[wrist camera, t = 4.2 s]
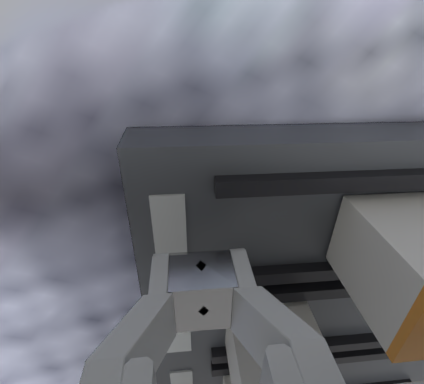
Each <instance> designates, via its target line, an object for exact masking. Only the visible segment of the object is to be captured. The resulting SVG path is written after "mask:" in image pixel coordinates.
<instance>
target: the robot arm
mask: <svg viewBox="0 0 424 384" xmlns="http://www.w3.org/2000/svg"><path fill="white" fill-rule="evenodd" d="M230 328H231V331H232V332H233V333H234V334H235V336H236V337H237V338H238V340H239V341H240V342H241V343H242V345H243V346H244V347H245V348H246V350H247V351H248V352H249V354H250V355H251V356H252V357H253V359H254V360H255V361H256V362H257V364H258V365H259V366H260V368H261V369H262V371H261V376H260V382H259V384H346V383H345V381H344V379H343V377H342V375H341V372H340V370H339V368H338V366H337V364H336V362H335V359H334V357H333V355H332V353H331V351H330V349H329V347H328V344H327V342H326V340H325V338H323V337H322V336H321V335H320V334H319V333H317V332H316V331H315V330H314V329H313V328H311V327H310V326H309V325H308V324H307V323H305V322H304V321H303V320H302V319H301V318H299V317H298V316H297V315H296V314H295V313H293V312H292V311H291V310H290V309H289V308H287V307H286V306H285V305H284V304H283V303H281V302H280V301H279V300H278V299H277V298H275V297H274V296H273V295H272V294H271V293H269V292H268V291H267V290H266V289H265V288H263V287H262V286H257V285H256V282H255V278H254V275H253V272H252V268H251V265H250V262H249V259H248V255H247V252H246V250H245V249H244V248H238V249H229V250H214V251H200V252H178V253H162V254H153V257H152V263H151V272H150V281H149V290H148V295H143V296H142V297H141V298H140V299H139V300H138V301H137V303H136V304H135V305H134V306H133V307H132V308H131V309H130V311H129V312H128V313H127V314H126V315H125V316H124V318H123V319H122V320H121V321H120V322H119V323H118V324H117V326H116V327H115V328H114V329H113V330H112V331H111V332H110V334H109V335H108V336H107V337H106V338H105V339H104V340H103V342H102V343H101V344H100V345H99V346H98V347H97V348H96V350H95V351H94V352H93V353H92V354H91V355H90V356H89V358H88V359H87V360H86V361H85V365H84V368H83V372H82V375H81V379H80V383H79V384H157V380H156V374H155V373H156V371H157V369H158V368H159V366H160V364H161V362H162V360H163V359H164V357H165V355H166V353H167V351H168V350H169V348H170V346H171V344H172V342H173V341H174V339H175V337H176V333H184V332H192V331H201V330H214V329H230ZM398 384H424V381H415V382H407V383H398Z"/></svg>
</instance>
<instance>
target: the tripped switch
mask: <svg viewBox="0 0 424 384" xmlns="http://www.w3.org/2000/svg"><path fill="white" fill-rule="evenodd" d="M326 259H327V260H328V262H329V264H330V265H331V267H332V268H333V270H334V272H335V273H336V275H337V276H338V278H339V280H340V281H341V283H342V284H343V286H344V287H345V289H346V291H347V292H348V294H349V295H350V297H351V299H352V300H353V302H354V303H355V305H356V307H357V308H358V310H359V311H360V313H361V315H362V316H363V318H364V319H365V321H366V323H367V324H368V326H369V327H370V329H371V330H372V332H373V334H374V335H375V337H376V338H377V340H378V342H379V343H380V345H381V346H382V348H383V350H384V351H385V353H386V354H387V356H388V358H389V359H390V361H391V362H392V363H401V362H410V361H420V360H424V192H415V193H393V194H370V195H347V196H343V199H342V203H341V206H340V210H339V213H338V216H337V220H336V223H335V227H334V230H333V234H332V237H331V241H330V244H329V247H328V251H327V254H326Z"/></svg>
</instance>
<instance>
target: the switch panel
mask: <svg viewBox="0 0 424 384" xmlns="http://www.w3.org/2000/svg"><path fill="white" fill-rule="evenodd" d="M117 154H118V160H119V166H120V172H121V178H122V183H123V189H124V195H125V201H126V207H127V213H128V219H129V225H130V231H131V237H132V243H133V249H134V255H135V261H136V267H137V273H138V278H139V284H140V290H141V296H143V295H148V290H149V281H150V272H151V263H152V257H153V254H162V253H178V252H200V251H214V250H229V249H238V248H244V249H245V250H246V252H247V255H248V259H249V262H250V265H251V268H252V272H253V275H254V278H255V282H256V285H257V286H262V287H263V288H265V289H266V290H267V291H268V292H269V293H271V294H272V295H273V296H274V297H275V298H277V299H278V300H279V301H280V302H281V303H283V304H284V305H285V306H286V307H287V308H289V309H290V310H291V311H292V312H293V313H295V314H296V315H297V316H298V317H299V318H301V319H302V320H303V321H304V322H305V323H307V324H308V325H309V326H310V327H311V328H313V329H314V330H315V331H316V332H317V333H319V334H320V335H321V336H322V337H323V338H325V340H326V342H327V344H328V347H329V349H330V351H331V353H332V355H333V357H334V359H335V362H336V364H337V366H338V368H339V370H340V372H341V375H342V377H343V379H344V381H345V383H346V384H398V383H407V382H415V381H424V360H420V361H410V362H401V363H392V362H391V361H390V359H389V358H388V356H387V354H386V353H385V351H384V350H383V348H382V346H381V345H380V343H379V342H378V340H377V338H376V337H375V335H374V334H373V332H372V330H371V329H370V327H369V326H368V324H367V323H366V321H365V319H364V318H363V316H362V315H361V313H360V311H359V310H358V308H357V307H356V305H355V303H354V302H353V300H352V299H351V297H350V295H349V294H348V292H347V291H346V289H345V287H344V286H343V284H342V283H341V281H340V280H339V278H338V276H337V275H336V273H335V272H334V270H333V268H332V267H331V265H330V264H329V262H328V260H327V259H326V254H327V251H328V247H329V244H330V241H331V237H332V234H333V230H334V227H335V223H336V220H337V216H338V213H339V210H340V206H341V203H342V199H343V196H347V195H370V194H393V193H415V192H424V122H390V123H338V124H287V125H235V126H183V127H131V128H126V130H125V132H124V134H123V136H122V138H121V140H120V142H119V144H118V146H117ZM261 371H262V369H261V368H260V366H259V365H258V364H257V362H256V361H255V360H254V359H253V357H252V356H251V355H250V354H249V352H248V351H247V350H246V348H245V347H244V346H243V345H242V343H241V342H240V341H239V340H238V338H237V337H236V336H235V334H234V333H233V332H232V331H231V328H230V329H214V330H201V331H192V332H184V333H176V337H175V339H174V341H173V342H172V344H171V346H170V348H169V350H168V351H167V353H166V355H165V357H164V359H163V360H162V362H161V364H160V366H159V368H158V369H157V371H156V373H155V374H156V380H157V384H259V382H260V376H261Z"/></svg>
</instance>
